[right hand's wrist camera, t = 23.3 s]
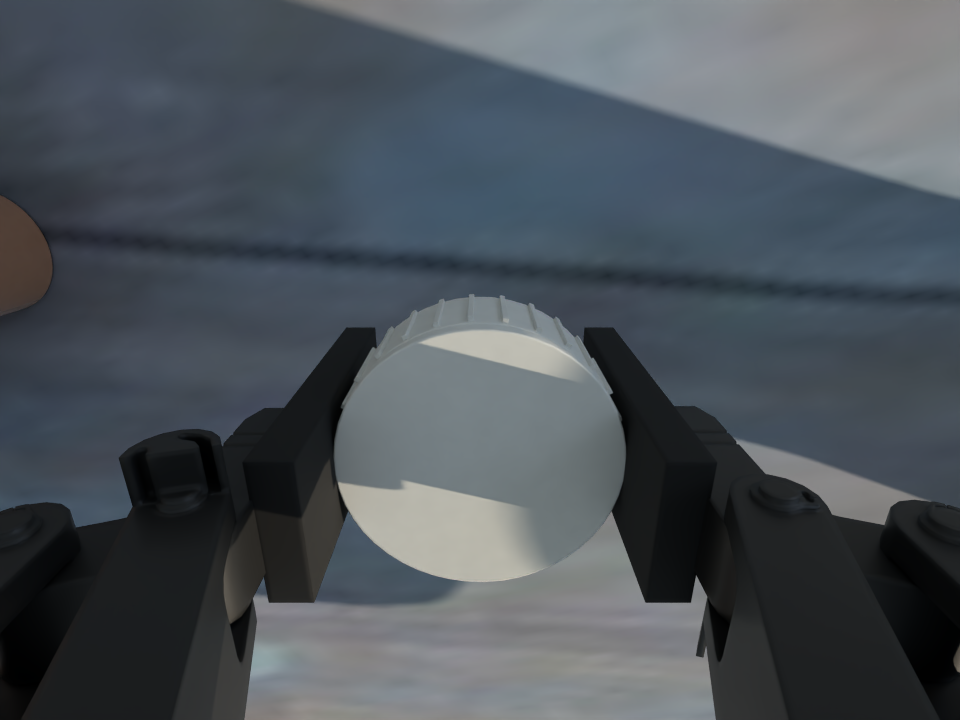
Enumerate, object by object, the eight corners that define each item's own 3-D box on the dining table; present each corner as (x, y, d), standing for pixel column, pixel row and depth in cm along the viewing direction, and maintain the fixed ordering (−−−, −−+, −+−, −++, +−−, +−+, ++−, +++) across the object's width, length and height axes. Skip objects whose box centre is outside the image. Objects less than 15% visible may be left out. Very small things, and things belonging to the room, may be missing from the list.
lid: (591, 271, 11) (618, 300, 9) (613, 497, 13) (640, 565, 11) (325, 317, 11) (290, 354, 9) (388, 530, 13) (370, 601, 11)
